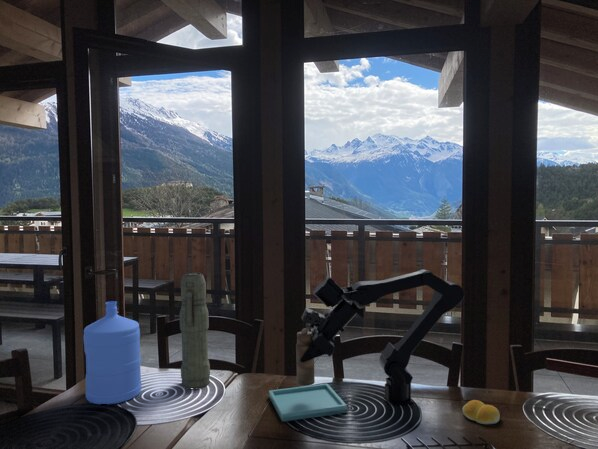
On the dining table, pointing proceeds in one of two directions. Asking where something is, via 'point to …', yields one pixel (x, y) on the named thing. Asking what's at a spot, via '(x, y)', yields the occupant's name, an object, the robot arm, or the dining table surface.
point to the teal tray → (306, 402)
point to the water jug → (112, 358)
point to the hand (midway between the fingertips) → (300, 358)
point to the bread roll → (481, 412)
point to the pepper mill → (306, 368)
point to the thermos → (194, 332)
